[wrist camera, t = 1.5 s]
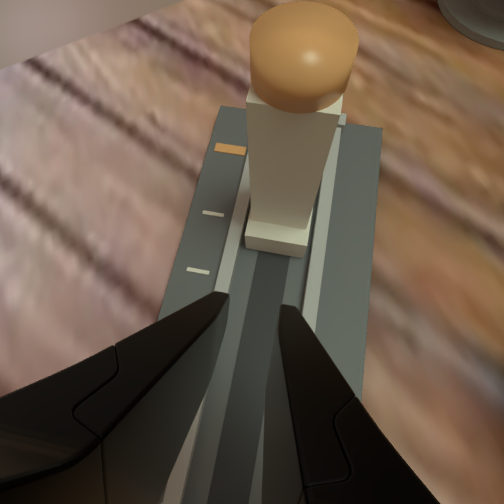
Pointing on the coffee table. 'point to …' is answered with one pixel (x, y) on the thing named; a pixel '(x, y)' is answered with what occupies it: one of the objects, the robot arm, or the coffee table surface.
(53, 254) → the coffee table surface
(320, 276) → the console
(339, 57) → the fader knob
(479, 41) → the mate gourd
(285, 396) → the robot arm
